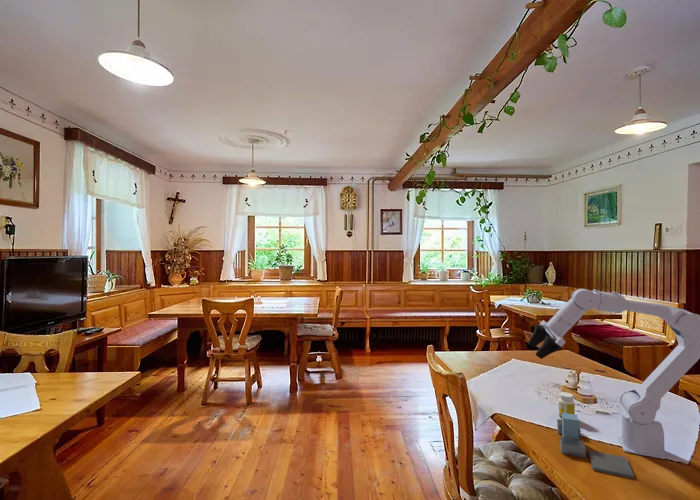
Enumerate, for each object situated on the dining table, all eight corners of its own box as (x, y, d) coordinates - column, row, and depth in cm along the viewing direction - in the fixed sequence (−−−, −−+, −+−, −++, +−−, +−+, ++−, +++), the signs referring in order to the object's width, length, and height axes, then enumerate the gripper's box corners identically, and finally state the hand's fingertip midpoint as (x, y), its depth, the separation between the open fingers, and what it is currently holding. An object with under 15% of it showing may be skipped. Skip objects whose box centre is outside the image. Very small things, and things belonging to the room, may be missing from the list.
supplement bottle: (576, 417, 126) (575, 394, 126) (573, 422, 123) (572, 398, 123) (560, 413, 129) (560, 390, 129) (557, 418, 126) (557, 394, 126)
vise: (577, 427, 119) (577, 418, 119) (585, 458, 103) (585, 447, 103) (556, 424, 122) (556, 415, 122) (561, 453, 105) (561, 443, 105)
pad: (625, 460, 101) (625, 457, 101) (634, 479, 93) (634, 476, 93) (588, 452, 105) (588, 449, 105) (593, 470, 97) (593, 467, 97)
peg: (577, 440, 112) (576, 414, 112) (578, 446, 108) (578, 420, 108) (562, 437, 114) (562, 412, 114) (563, 443, 110) (563, 418, 110)
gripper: (544, 305, 121) (517, 334, 125) (562, 322, 107) (531, 354, 110) (562, 317, 121) (534, 346, 124) (582, 335, 107) (550, 367, 110)
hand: (534, 351), depth 117 cm, fingers open, 7 cm apart
